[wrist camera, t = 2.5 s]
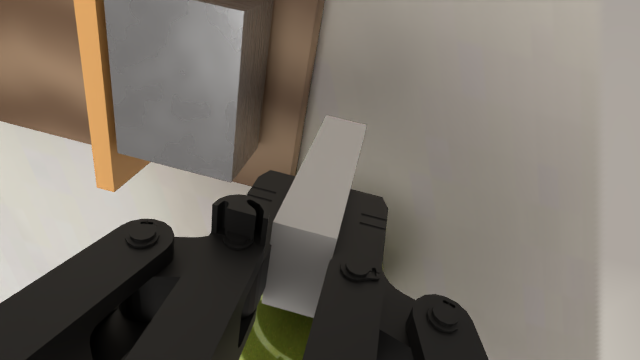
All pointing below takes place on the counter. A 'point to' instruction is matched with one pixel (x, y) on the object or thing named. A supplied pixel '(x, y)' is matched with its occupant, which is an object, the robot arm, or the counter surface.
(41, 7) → the gauge board
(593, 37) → the counter surface
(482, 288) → the counter surface
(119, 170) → the upright wooden plank
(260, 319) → the plant pot
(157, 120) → the grey foam block
